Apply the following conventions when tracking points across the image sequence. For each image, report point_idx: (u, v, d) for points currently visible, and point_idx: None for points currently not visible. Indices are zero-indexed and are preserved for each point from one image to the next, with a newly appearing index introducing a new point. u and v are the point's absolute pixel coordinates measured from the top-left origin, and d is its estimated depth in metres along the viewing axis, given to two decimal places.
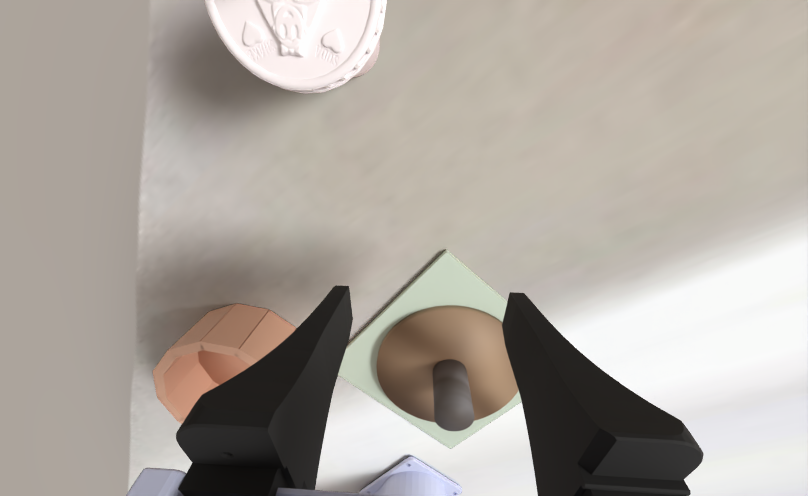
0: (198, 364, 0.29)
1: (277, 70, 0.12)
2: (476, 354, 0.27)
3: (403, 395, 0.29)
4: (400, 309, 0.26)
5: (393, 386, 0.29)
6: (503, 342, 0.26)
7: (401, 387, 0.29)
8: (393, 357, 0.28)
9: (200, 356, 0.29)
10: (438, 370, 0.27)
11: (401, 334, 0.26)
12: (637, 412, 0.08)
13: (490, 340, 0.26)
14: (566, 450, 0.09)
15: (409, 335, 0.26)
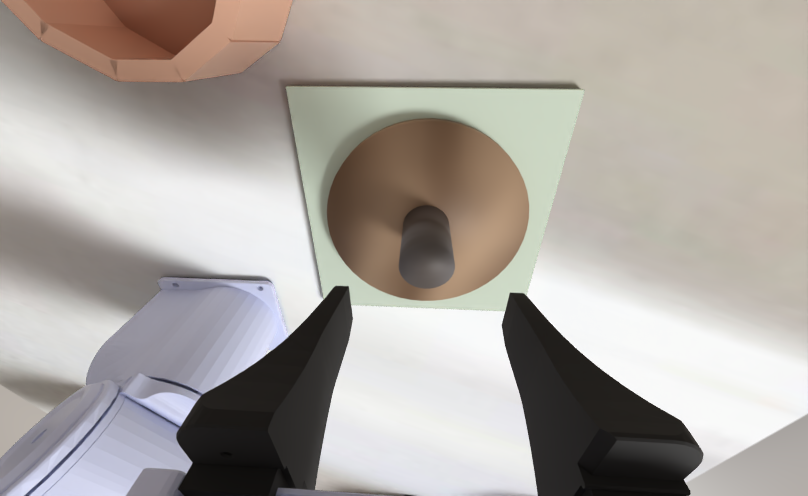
0: None
1: None
2: (472, 230, 0.21)
3: (349, 209, 0.20)
4: (461, 105, 0.17)
5: (350, 188, 0.19)
6: (507, 240, 0.21)
7: (357, 197, 0.20)
8: (391, 153, 0.18)
9: None
10: (428, 211, 0.19)
11: (433, 134, 0.17)
12: (637, 412, 0.08)
13: (501, 228, 0.20)
14: (566, 450, 0.09)
15: (440, 144, 0.18)
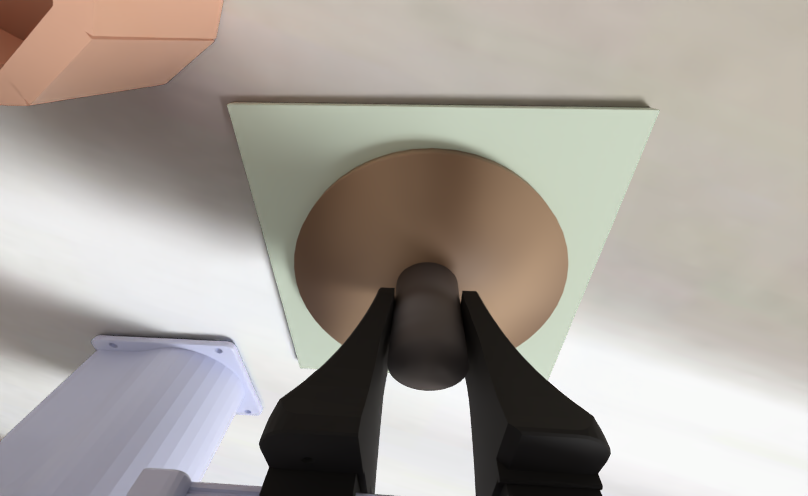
0: None
1: None
2: (489, 293, 0.15)
3: (323, 265, 0.15)
4: (478, 131, 0.12)
5: (323, 241, 0.14)
6: (535, 305, 0.16)
7: (335, 251, 0.15)
8: (378, 197, 0.13)
9: None
10: (430, 274, 0.14)
11: (437, 172, 0.12)
12: (552, 407, 0.08)
13: (527, 291, 0.15)
14: (490, 445, 0.09)
15: (447, 185, 0.12)
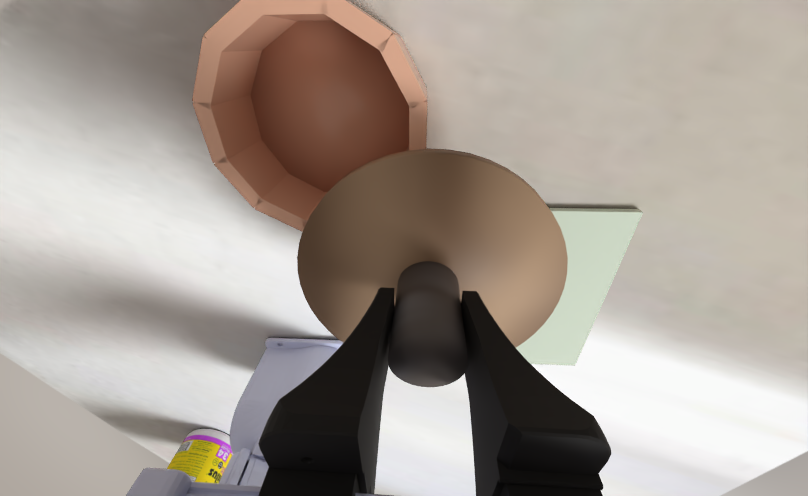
0: (260, 53, 0.17)
1: None
2: (489, 290, 0.15)
3: (326, 267, 0.15)
4: None
5: (325, 243, 0.15)
6: (537, 301, 0.16)
7: (336, 253, 0.15)
8: (376, 198, 0.13)
9: (275, 46, 0.17)
10: (429, 272, 0.14)
11: (432, 172, 0.12)
12: (552, 407, 0.08)
13: (528, 287, 0.15)
14: (491, 445, 0.09)
15: (442, 185, 0.13)
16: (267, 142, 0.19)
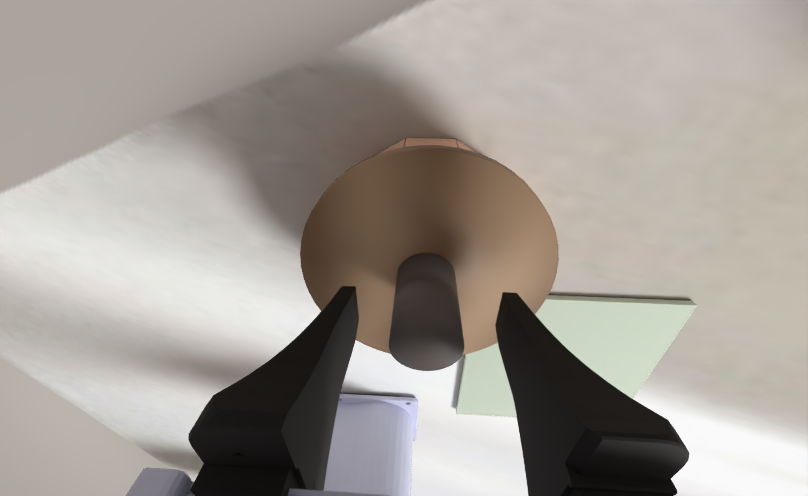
0: None
1: None
2: (485, 279, 0.16)
3: (327, 262, 0.16)
4: (603, 310, 0.24)
5: (326, 238, 0.15)
6: (531, 288, 0.16)
7: (337, 248, 0.16)
8: (373, 194, 0.14)
9: None
10: (426, 263, 0.15)
11: (425, 167, 0.13)
12: (624, 411, 0.08)
13: (522, 274, 0.16)
14: (555, 449, 0.09)
15: (435, 179, 0.13)
16: None
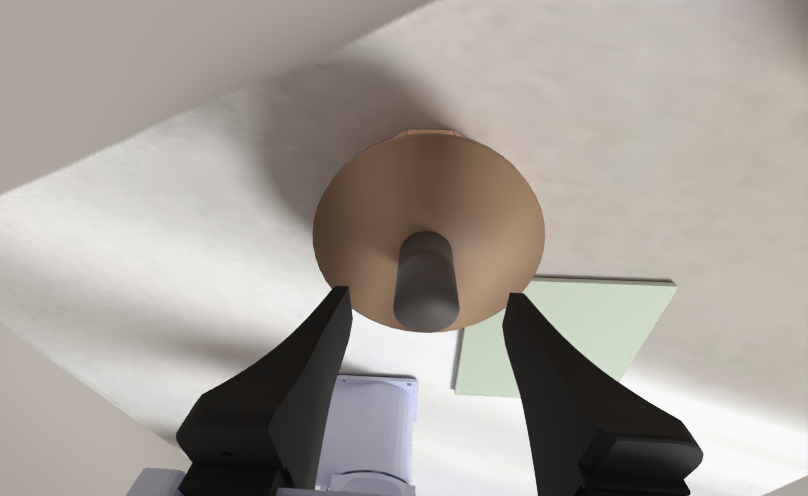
0: None
1: None
2: (479, 255, 0.18)
3: (337, 240, 0.18)
4: (591, 291, 0.25)
5: (336, 218, 0.17)
6: (521, 264, 0.18)
7: (346, 227, 0.17)
8: (379, 177, 0.16)
9: None
10: (426, 239, 0.16)
11: (425, 152, 0.15)
12: (637, 413, 0.08)
13: (512, 251, 0.18)
14: (566, 450, 0.09)
15: (434, 163, 0.15)
16: None
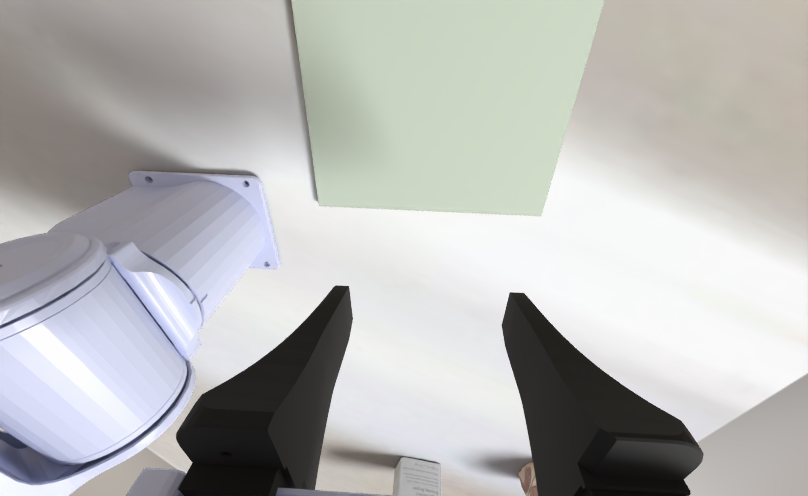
0: None
1: None
2: None
3: None
4: None
5: None
6: None
7: None
8: None
9: None
10: None
11: None
12: (637, 412, 0.08)
13: None
14: (566, 450, 0.09)
15: None
16: None
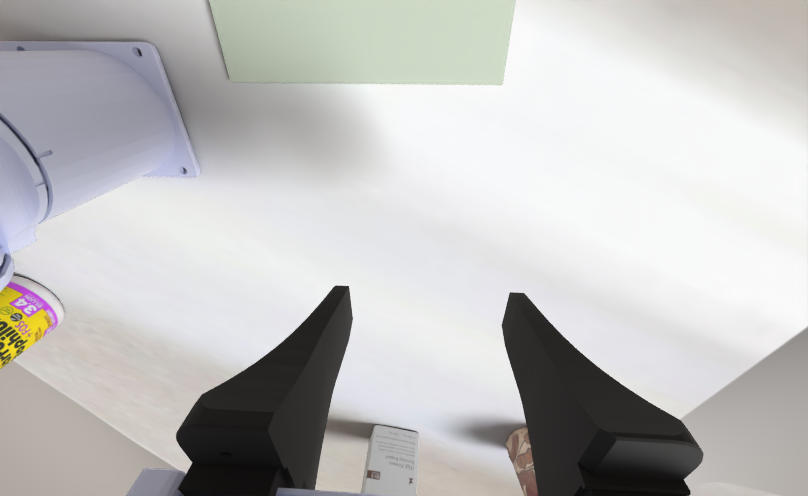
0: None
1: None
2: None
3: None
4: None
5: None
6: None
7: None
8: None
9: None
10: None
11: None
12: (637, 412, 0.08)
13: None
14: (566, 450, 0.09)
15: None
16: None
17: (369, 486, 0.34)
